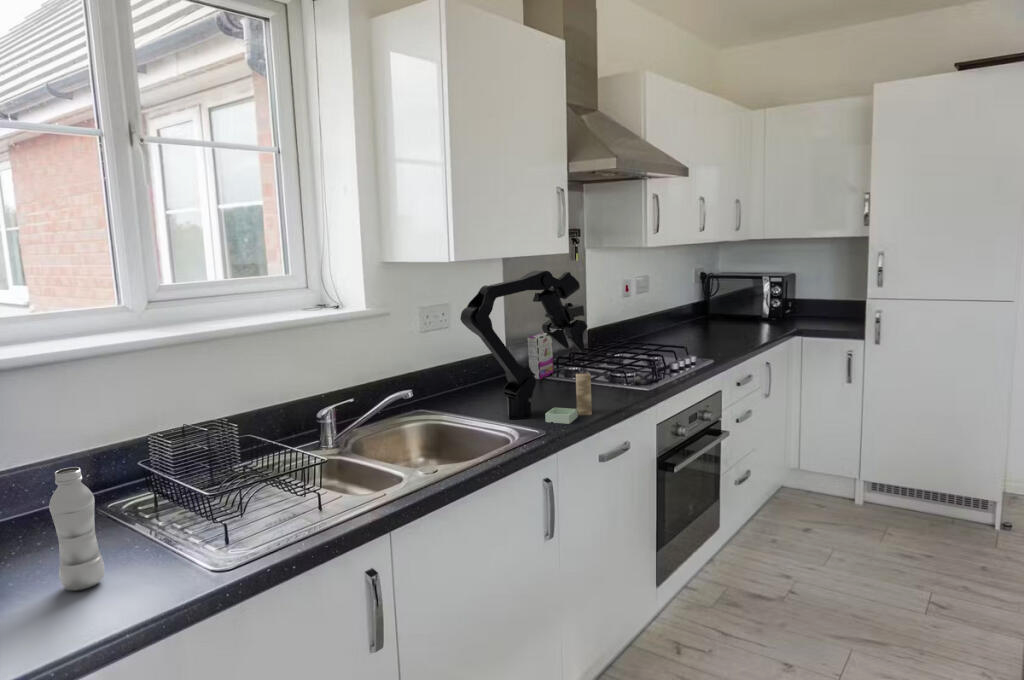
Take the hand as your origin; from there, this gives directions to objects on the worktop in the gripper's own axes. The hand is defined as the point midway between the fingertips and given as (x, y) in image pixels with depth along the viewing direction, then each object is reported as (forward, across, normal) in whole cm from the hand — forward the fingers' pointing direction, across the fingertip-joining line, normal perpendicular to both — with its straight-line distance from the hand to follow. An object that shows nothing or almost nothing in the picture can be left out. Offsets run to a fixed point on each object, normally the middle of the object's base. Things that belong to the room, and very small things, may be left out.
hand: (575, 349), depth 220 cm
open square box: (+11, -11, +19) cm, 25 cm away
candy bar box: (+22, +49, -4) cm, 54 cm away
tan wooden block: (+15, -8, +11) cm, 21 cm away
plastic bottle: (-40, -55, +126) cm, 143 cm away
